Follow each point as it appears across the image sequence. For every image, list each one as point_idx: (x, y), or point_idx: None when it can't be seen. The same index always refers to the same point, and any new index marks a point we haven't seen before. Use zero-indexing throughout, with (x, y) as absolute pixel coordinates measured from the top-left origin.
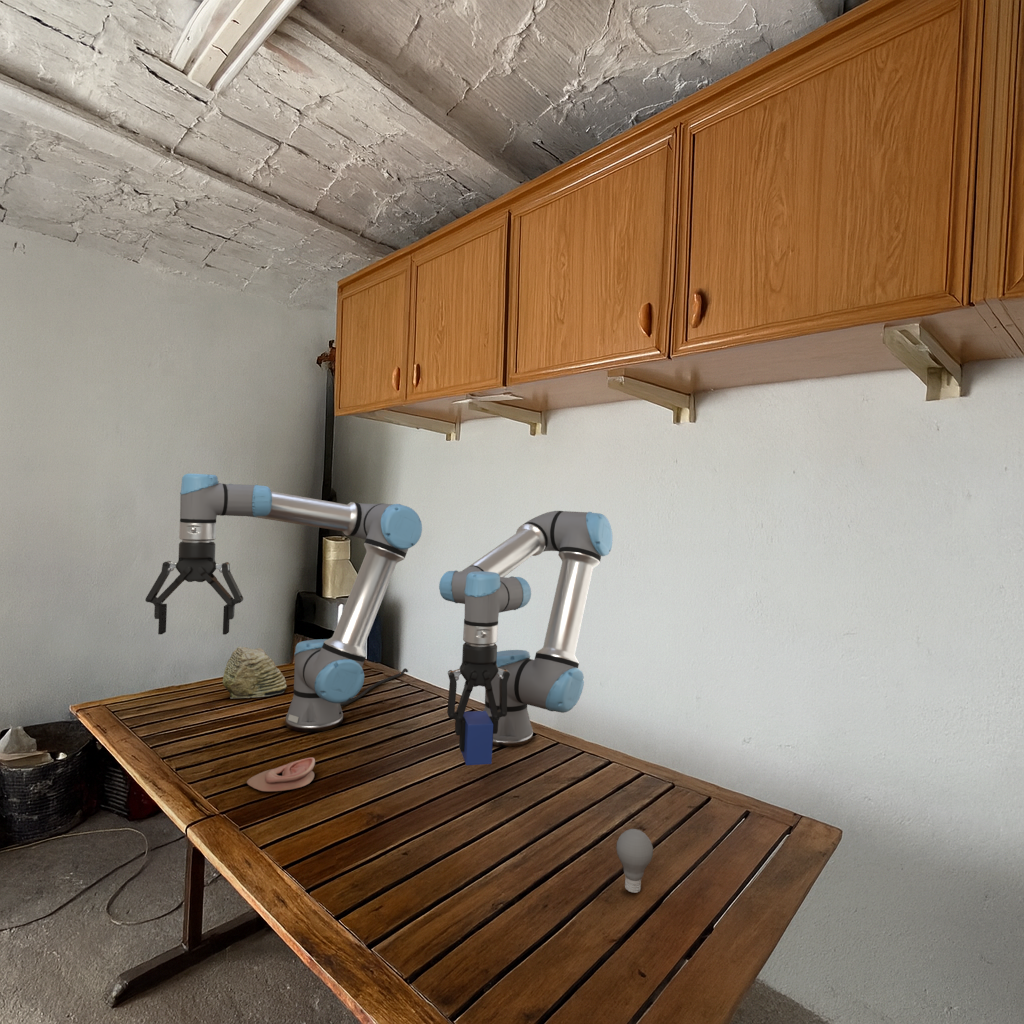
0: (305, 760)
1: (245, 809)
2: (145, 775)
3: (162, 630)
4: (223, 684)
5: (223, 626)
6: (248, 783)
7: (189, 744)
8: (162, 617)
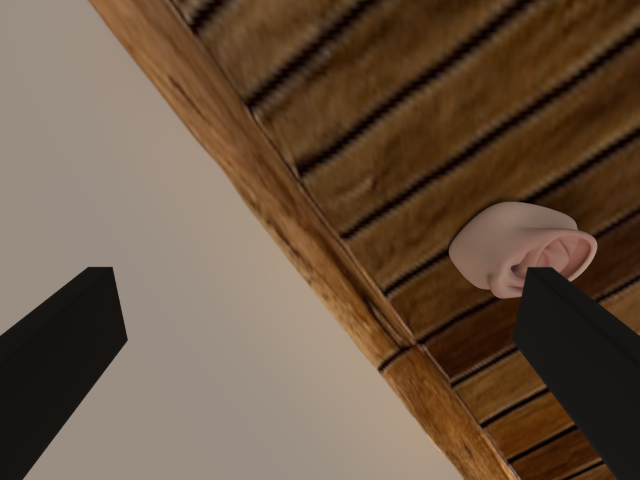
0: (575, 235)
1: (453, 336)
2: (248, 195)
3: (113, 345)
4: None
5: (544, 377)
6: (453, 261)
7: (280, 12)
8: (56, 433)
